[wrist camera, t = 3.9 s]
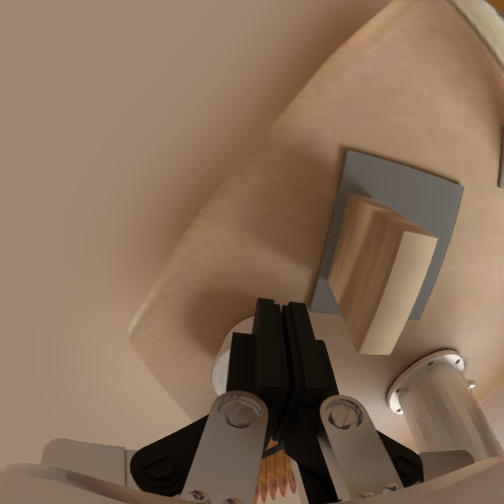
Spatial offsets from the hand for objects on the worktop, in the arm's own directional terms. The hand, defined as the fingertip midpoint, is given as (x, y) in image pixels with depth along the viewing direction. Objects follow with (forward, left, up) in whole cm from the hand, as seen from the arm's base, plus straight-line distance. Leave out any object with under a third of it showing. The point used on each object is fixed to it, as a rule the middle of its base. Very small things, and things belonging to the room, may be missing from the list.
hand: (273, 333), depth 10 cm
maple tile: (-7, 0, -14) cm, 16 cm away
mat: (-12, 0, -15) cm, 19 cm away
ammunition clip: (-6, +29, -15) cm, 33 cm away
